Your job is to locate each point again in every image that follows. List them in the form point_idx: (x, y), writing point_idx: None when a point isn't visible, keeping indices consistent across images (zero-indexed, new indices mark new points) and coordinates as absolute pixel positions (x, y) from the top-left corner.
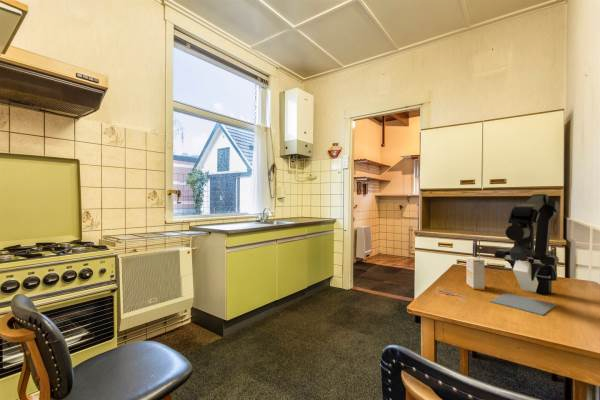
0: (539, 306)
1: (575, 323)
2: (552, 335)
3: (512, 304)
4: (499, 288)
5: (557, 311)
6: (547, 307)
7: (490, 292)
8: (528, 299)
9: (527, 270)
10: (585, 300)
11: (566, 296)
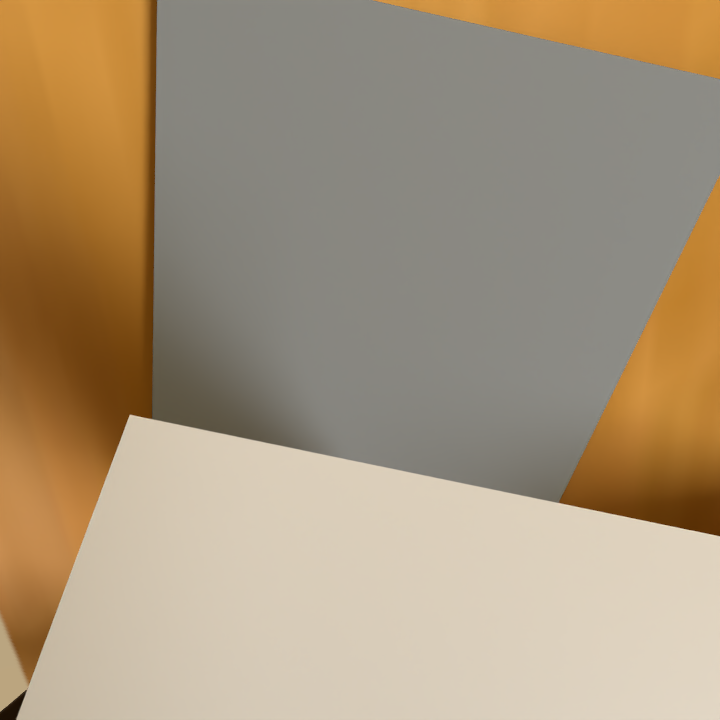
0: (244, 281)
1: None
2: None
3: (490, 140)
4: None
5: (107, 270)
6: (183, 304)
7: (687, 487)
8: (356, 452)
9: (97, 564)
10: None
11: None
